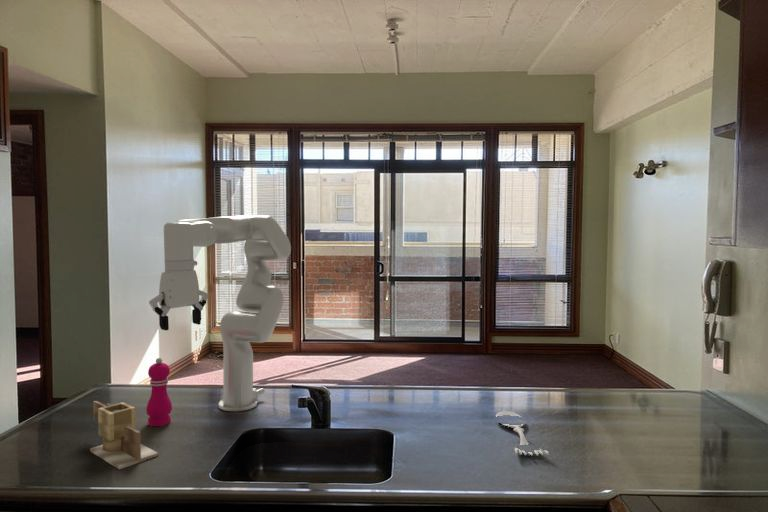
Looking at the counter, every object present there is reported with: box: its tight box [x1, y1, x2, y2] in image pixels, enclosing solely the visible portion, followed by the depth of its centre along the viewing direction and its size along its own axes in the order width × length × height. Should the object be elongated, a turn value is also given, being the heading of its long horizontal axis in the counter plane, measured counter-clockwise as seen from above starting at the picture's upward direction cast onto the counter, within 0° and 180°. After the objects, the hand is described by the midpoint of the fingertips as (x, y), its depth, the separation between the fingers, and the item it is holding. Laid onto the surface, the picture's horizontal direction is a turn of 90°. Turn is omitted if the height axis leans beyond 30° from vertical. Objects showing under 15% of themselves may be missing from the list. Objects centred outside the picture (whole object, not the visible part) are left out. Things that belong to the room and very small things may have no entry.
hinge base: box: [89, 410, 159, 470], centre depth 138 cm, size 16×10×10 cm, turn 52°
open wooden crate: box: [92, 400, 136, 441], centre depth 143 cm, size 16×7×7 cm, turn 52°
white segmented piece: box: [495, 410, 550, 457], centre depth 153 cm, size 9×32×4 cm, turn 179°
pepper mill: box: [145, 357, 173, 427], centre depth 159 cm, size 7×7×20 cm
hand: (181, 326), depth 148 cm, fingers open, 9 cm apart
